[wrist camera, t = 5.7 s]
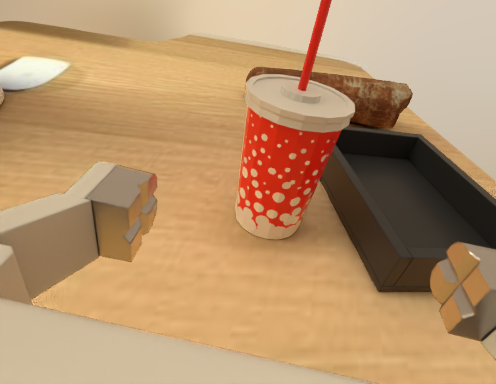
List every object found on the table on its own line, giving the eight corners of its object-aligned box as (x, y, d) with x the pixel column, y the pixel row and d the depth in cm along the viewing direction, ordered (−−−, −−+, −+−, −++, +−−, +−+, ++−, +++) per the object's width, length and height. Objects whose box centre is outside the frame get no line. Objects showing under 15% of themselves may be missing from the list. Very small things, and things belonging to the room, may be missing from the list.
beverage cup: (313, 255, 21) (418, 9, 13) (218, 239, 21) (262, -25, 12) (305, 198, 26) (377, -6, 18) (228, 184, 26) (265, -30, 17)
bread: (395, 139, 39) (418, 93, 35) (239, 102, 40) (247, 54, 36) (387, 119, 44) (406, 77, 40) (248, 86, 45) (256, 43, 41)
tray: (378, 291, 19) (400, 257, 18) (304, 150, 32) (313, 122, 31) (534, 291, 22) (568, 261, 20) (407, 159, 35) (421, 134, 33)
